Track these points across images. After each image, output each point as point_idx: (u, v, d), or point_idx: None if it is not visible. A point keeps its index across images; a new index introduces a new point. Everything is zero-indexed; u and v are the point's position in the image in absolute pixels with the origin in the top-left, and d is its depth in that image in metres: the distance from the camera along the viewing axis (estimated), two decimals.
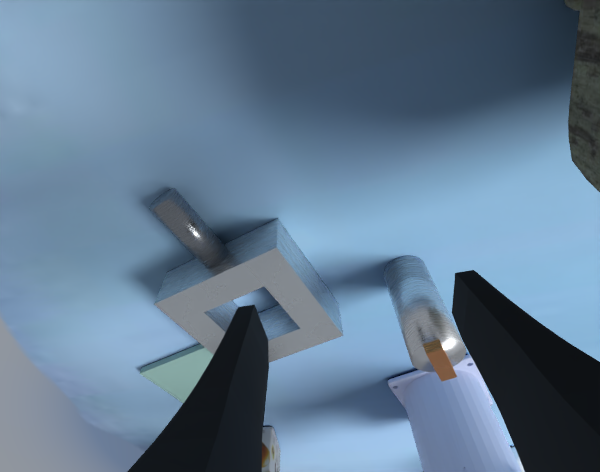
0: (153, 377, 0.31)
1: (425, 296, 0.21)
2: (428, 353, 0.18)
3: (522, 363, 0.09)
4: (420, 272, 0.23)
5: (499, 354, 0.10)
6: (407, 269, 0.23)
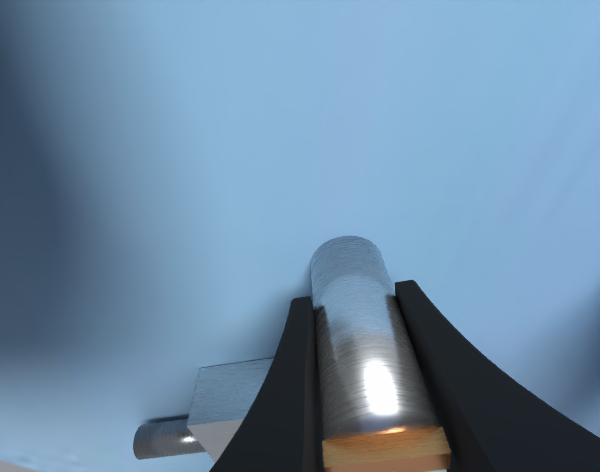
0: None
1: (318, 333, 0.11)
2: None
3: (438, 374, 0.09)
4: (319, 278, 0.13)
5: (425, 364, 0.10)
6: (313, 286, 0.14)
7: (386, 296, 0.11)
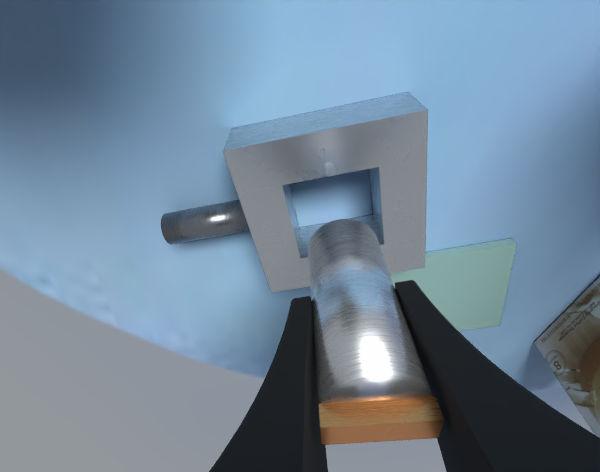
0: None
1: (316, 306, 0.11)
2: (322, 442, 0.09)
3: (438, 374, 0.09)
4: (319, 256, 0.13)
5: (425, 364, 0.10)
6: (310, 265, 0.14)
7: (385, 276, 0.12)
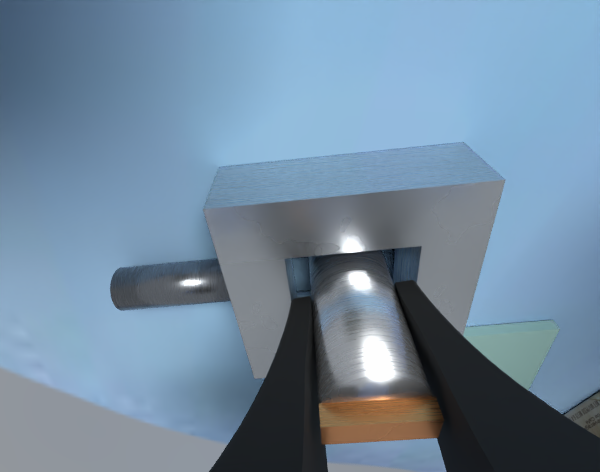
0: None
1: (317, 306, 0.11)
2: (322, 441, 0.09)
3: (438, 374, 0.09)
4: (319, 255, 0.13)
5: (425, 364, 0.10)
6: (310, 264, 0.14)
7: (385, 276, 0.12)
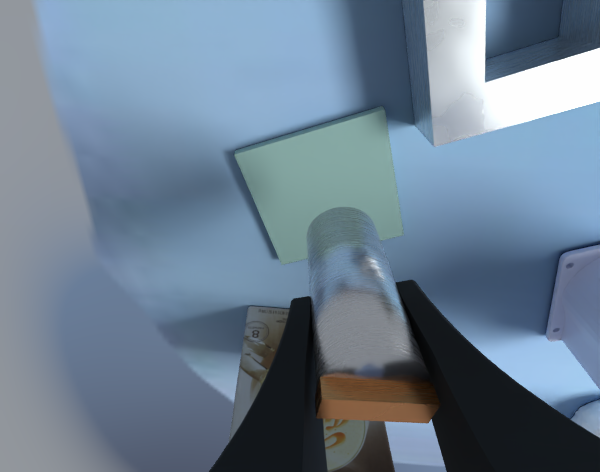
0: (253, 168, 0.19)
1: (319, 285, 0.11)
2: (317, 415, 0.09)
3: (438, 374, 0.09)
4: (323, 237, 0.13)
5: (425, 364, 0.10)
6: (311, 246, 0.14)
7: (388, 266, 0.12)
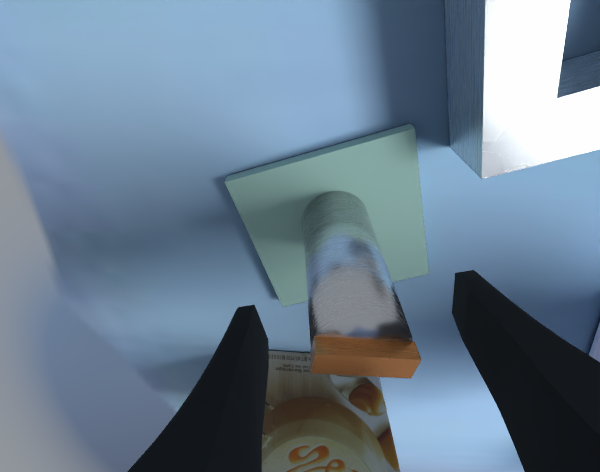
0: (248, 198, 0.15)
1: (314, 259, 0.12)
2: (312, 370, 0.10)
3: (522, 363, 0.09)
4: (317, 218, 0.14)
5: (499, 354, 0.10)
6: (306, 227, 0.15)
7: (377, 244, 0.13)
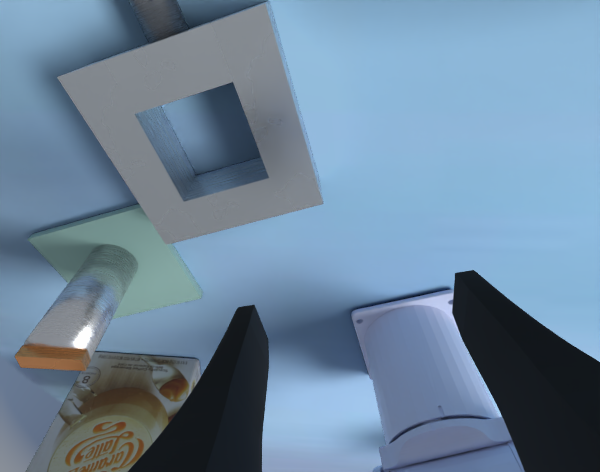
0: (47, 249, 0.22)
1: (59, 295, 0.19)
2: (20, 365, 0.17)
3: (522, 363, 0.09)
4: (81, 265, 0.21)
5: (499, 354, 0.10)
6: None
7: (108, 284, 0.20)
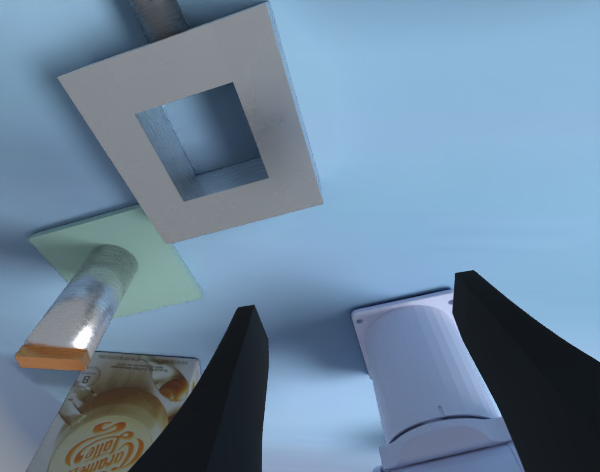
0: (47, 249, 0.22)
1: (59, 295, 0.19)
2: (20, 365, 0.17)
3: (522, 363, 0.09)
4: (81, 265, 0.21)
5: (499, 354, 0.10)
6: None
7: (108, 284, 0.20)
